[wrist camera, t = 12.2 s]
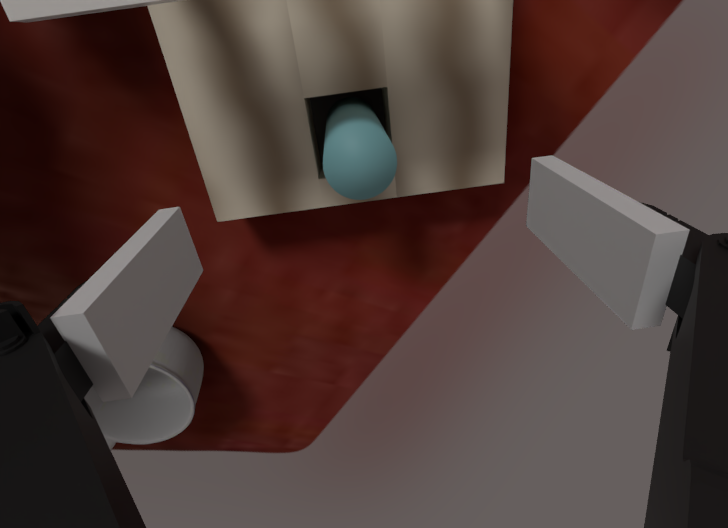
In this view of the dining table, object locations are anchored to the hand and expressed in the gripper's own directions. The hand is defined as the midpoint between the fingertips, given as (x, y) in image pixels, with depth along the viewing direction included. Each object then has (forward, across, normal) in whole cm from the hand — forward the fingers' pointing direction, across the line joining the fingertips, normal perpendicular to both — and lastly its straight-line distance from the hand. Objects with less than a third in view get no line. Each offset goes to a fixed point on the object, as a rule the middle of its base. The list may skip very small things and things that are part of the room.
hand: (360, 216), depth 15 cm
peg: (+19, 0, 0) cm, 19 cm away
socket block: (+20, 0, +5) cm, 20 cm away
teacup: (+20, -24, -21) cm, 38 cm away
